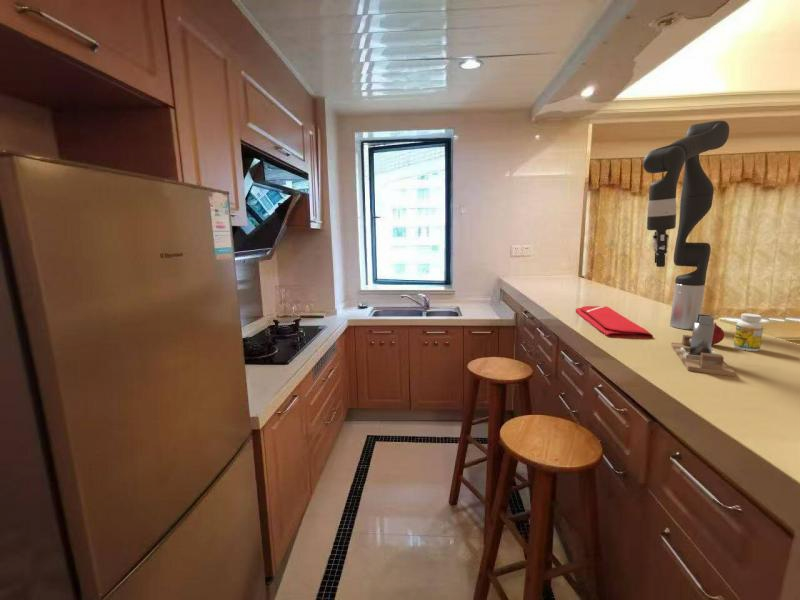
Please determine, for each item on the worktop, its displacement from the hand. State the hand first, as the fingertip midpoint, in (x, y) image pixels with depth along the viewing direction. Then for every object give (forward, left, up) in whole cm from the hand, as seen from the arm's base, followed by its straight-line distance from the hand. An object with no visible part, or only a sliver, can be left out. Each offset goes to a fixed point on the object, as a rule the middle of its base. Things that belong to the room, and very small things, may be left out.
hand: (659, 264), depth 120 cm
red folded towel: (-26, -11, -28) cm, 40 cm away
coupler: (+10, +11, -26) cm, 30 cm away
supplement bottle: (-7, +27, -28) cm, 39 cm away
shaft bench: (+11, +11, -28) cm, 32 cm away
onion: (-7, +18, -28) cm, 34 cm away
